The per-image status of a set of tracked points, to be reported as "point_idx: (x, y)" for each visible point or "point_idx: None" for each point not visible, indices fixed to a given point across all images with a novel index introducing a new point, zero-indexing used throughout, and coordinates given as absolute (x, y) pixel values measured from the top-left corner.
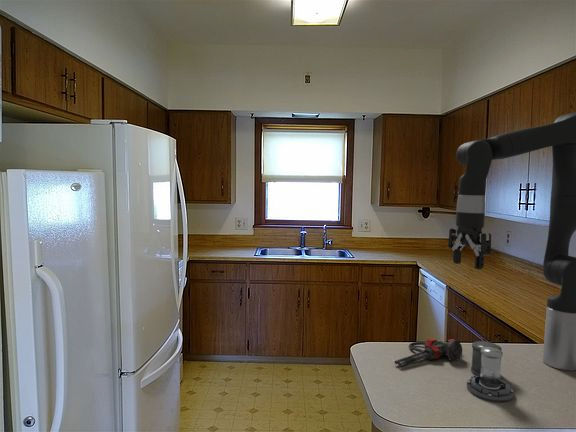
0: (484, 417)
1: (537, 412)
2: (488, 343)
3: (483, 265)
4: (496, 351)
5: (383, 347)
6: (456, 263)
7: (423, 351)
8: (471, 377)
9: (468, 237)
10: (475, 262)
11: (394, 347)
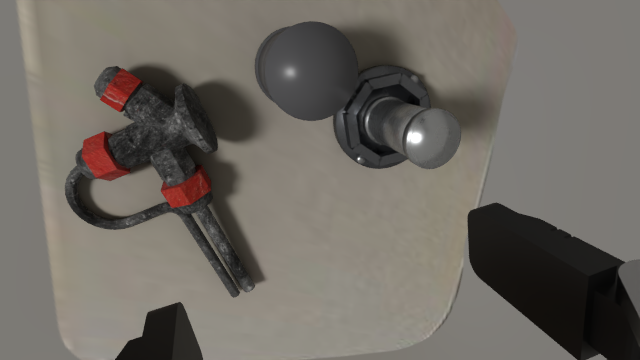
0: (459, 185)
1: (470, 67)
2: (291, 50)
3: (544, 223)
4: (445, 130)
5: (100, 296)
6: (196, 346)
7: (181, 211)
8: (358, 152)
9: None
10: (521, 306)
11: (97, 265)
